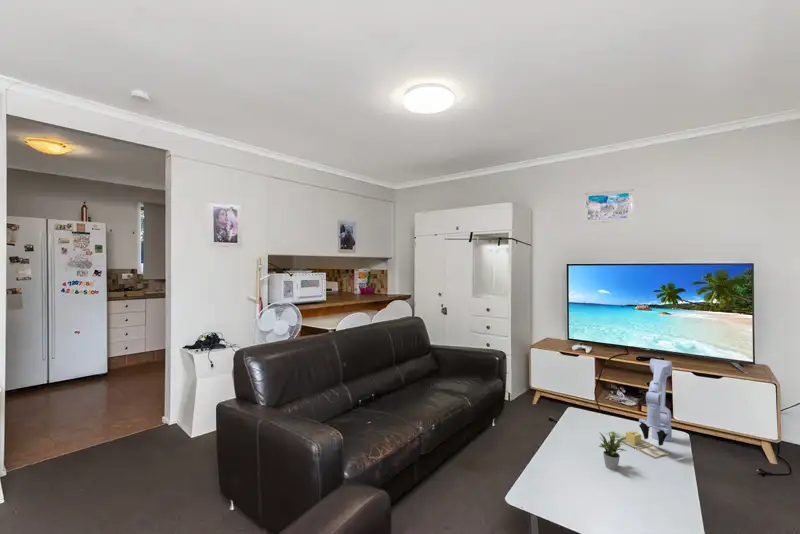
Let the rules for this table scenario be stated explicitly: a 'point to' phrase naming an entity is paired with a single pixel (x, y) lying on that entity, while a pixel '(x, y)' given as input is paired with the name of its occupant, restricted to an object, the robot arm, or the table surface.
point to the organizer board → (643, 447)
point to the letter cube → (633, 437)
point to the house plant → (611, 451)
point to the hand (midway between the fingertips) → (653, 441)
